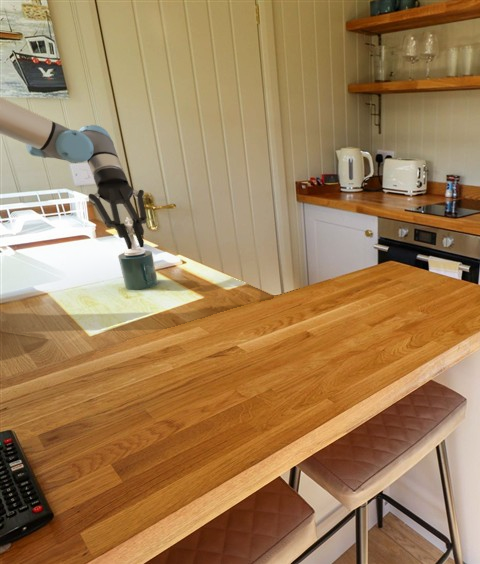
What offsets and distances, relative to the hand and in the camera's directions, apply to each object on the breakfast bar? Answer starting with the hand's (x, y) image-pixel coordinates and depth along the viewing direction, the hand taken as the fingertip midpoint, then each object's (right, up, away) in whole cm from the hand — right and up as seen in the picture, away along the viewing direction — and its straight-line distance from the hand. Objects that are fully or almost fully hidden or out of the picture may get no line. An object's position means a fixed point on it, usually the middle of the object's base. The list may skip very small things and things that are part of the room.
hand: (136, 245), depth 113 cm
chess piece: (-3, -2, +4) cm, 5 cm away
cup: (-2, -11, +7) cm, 13 cm away
